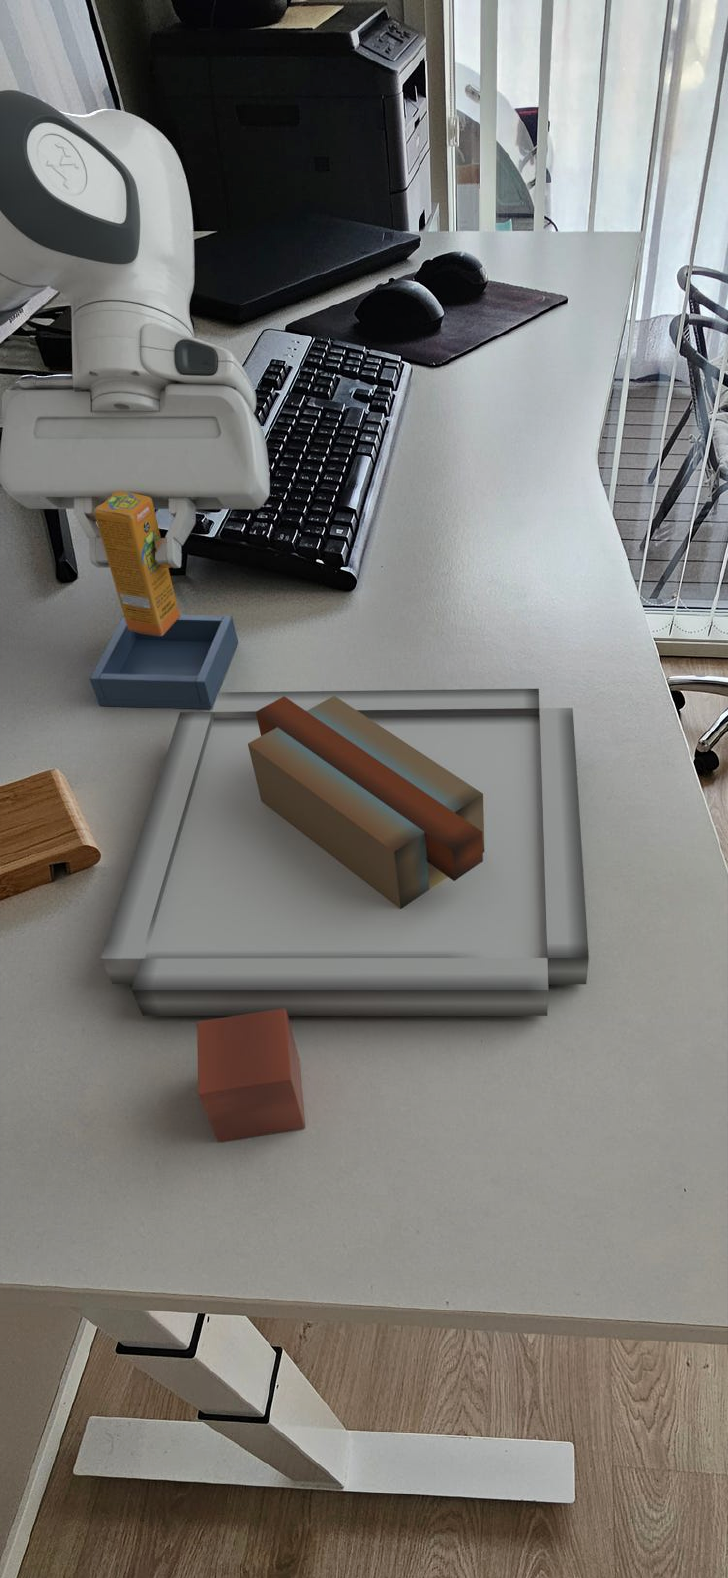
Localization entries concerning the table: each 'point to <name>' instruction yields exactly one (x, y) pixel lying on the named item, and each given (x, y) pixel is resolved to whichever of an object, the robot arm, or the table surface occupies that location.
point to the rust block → (250, 1075)
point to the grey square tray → (358, 858)
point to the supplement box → (137, 562)
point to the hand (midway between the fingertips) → (136, 565)
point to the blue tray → (166, 664)
